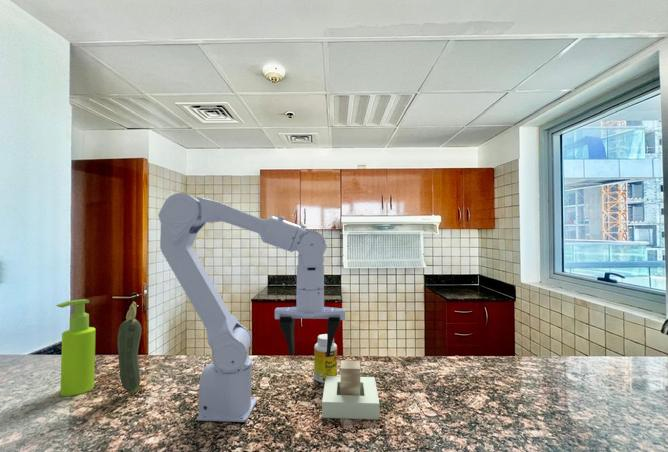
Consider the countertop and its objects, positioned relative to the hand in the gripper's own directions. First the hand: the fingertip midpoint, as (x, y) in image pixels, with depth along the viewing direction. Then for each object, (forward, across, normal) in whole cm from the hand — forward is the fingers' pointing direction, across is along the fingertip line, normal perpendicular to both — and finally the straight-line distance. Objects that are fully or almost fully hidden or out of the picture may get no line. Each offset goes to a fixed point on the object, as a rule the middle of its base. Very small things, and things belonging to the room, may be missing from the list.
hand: (310, 353), depth 65 cm
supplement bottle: (+11, +2, +12) cm, 16 cm away
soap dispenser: (+10, -53, +3) cm, 54 cm away
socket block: (+10, +8, +1) cm, 13 cm away
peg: (+10, +8, +1) cm, 13 cm away
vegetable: (+10, -40, +2) cm, 42 cm away
